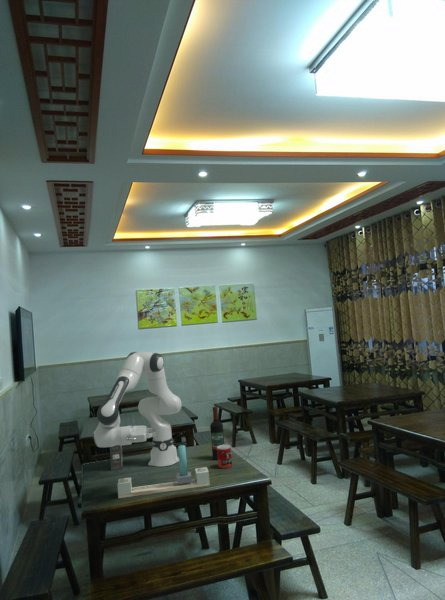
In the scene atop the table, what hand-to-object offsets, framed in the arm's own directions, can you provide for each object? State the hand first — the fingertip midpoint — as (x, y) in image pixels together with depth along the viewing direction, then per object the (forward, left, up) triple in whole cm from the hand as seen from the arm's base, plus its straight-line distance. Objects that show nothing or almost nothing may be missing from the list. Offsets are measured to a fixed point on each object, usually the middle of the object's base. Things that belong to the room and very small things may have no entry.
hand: (155, 431), depth 224 cm
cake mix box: (-54, -25, -28) cm, 66 cm away
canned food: (-22, +36, -28) cm, 51 cm away
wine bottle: (-39, +35, -28) cm, 60 cm away
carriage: (0, +12, -25) cm, 28 cm away
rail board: (0, +2, -28) cm, 28 cm away
